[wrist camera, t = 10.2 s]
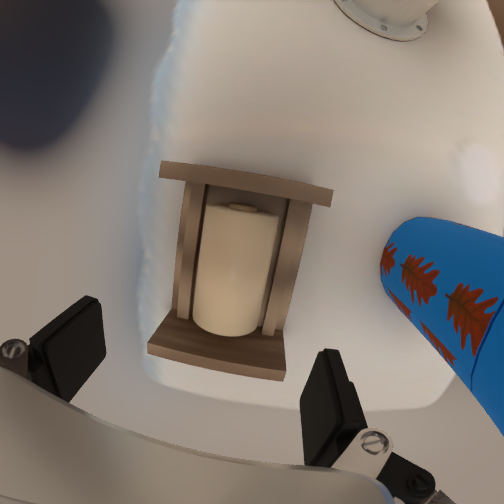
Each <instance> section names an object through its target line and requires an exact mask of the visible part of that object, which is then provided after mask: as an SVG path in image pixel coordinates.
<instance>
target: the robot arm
mask: <svg viewBox="0 0 504 504" xmlns="http://www.w3.org/2000/svg"><path fill="white" fill-rule="evenodd" d="M438 1H439V0H335V2H336V3H337V5H338V6H339V7H340V9H341V10H342V11H343V12H344V13H345V14H346V15H347V16H349V17H350V18H351V19H352V20H354V21H355V22H356V23H358V24H359V25H361V26H362V27H364V28H366V29H368V30H370V31H371V32H373V33H376V34H378V35H380V36H383V37H386V38H390V39H393V40H400V41H410V40H414V39H416V38H418V37H420V36H421V35H422V34H423V33H424V32H425V31H426V29H427V25H428V19H427V14H426V12H427V11H428V10H429V9H430V8H431V7H432V6H433V5H434V4H436V3H437V2H438ZM29 340H30V344H29V345H27V344H26V342H24V341H23V340H20V339H10V340H7V341H6V342H4V343H3V344H2V345H1V346H0V504H456V503H454V502H453V501H452V500H451V499H450V498H449V497H448V496H446V494H445V493H443V492H442V491H441V490H439V491H438V492H437V491H436V490H435V480H434V477H433V476H432V474H431V473H429V472H428V471H426V470H425V469H422V468H421V467H419V466H417V465H415V464H413V463H411V462H409V461H408V460H406V459H404V458H402V457H401V456H399V455H397V454H395V453H394V452H392V450H393V441H392V439H391V437H390V436H389V435H388V434H387V433H386V432H384V431H382V430H380V429H377V428H368V426H367V423H366V420H365V417H364V414H363V410H362V407H361V404H360V401H359V398H358V395H357V392H356V389H355V386H354V384H353V382H351V381H349V379H348V376H347V373H346V370H345V367H344V364H343V361H342V358H341V355H340V352H339V350H335V349H326V348H325V349H324V350H323V352H322V351H319V353H318V355H317V357H316V360H315V363H314V365H313V368H312V370H311V373H310V375H309V378H308V380H307V383H306V385H305V388H304V390H303V392H302V395H301V397H300V414H301V425H302V438H303V450H304V464H305V466H303V465H289V464H277V463H268V462H260V461H252V460H244V459H238V458H232V457H226V456H220V455H216V454H211V453H206V452H201V451H197V450H193V449H189V448H185V447H181V446H178V445H174V444H170V443H167V442H164V441H160V440H157V439H154V438H151V437H148V436H145V435H142V434H139V433H136V432H133V431H131V430H128V429H125V428H123V427H120V426H118V425H115V424H113V423H110V422H108V421H106V420H103V419H101V418H98V417H96V416H94V415H92V414H90V413H88V412H86V411H84V410H81V409H80V408H77V407H75V406H74V405H72V404H70V403H69V402H70V401H71V400H72V398H73V397H74V396H75V394H76V393H77V392H78V391H79V389H80V388H81V387H82V385H83V384H84V383H85V382H86V381H87V379H88V378H89V377H90V376H91V374H92V373H93V372H94V371H95V369H96V368H97V367H98V366H99V364H100V363H101V362H102V361H103V360H104V358H105V356H106V346H105V339H104V329H103V320H102V308H101V304H100V303H99V301H98V299H96V298H93V297H90V296H84V297H83V298H81V299H80V300H78V301H77V302H76V303H74V304H73V305H72V306H70V307H69V308H68V309H66V310H65V311H64V312H63V313H61V314H60V315H59V316H57V317H56V318H55V319H53V320H52V321H51V322H50V323H48V324H47V325H46V326H45V327H43V328H42V329H41V330H40V331H38V332H37V333H36V334H35V335H33V336H32V337H31V338H30V339H29Z"/></svg>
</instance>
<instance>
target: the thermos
mask: <svg viewBox="0 0 504 504" xmlns="http://www.w3.org/2000/svg"><path fill="white" fill-rule="evenodd" d="M380 267H381V281H382V283H383V286H384V288H385V291H386V293H387V294H388V296H389V297H390V298H391V299H392V301H393V302H394V303H395V304H396V306H397V307H398V308H399V309H400V310H401V311H402V313H403V314H404V315H405V316H406V317H407V318H408V319H409V320H410V321H411V322H412V323H413V324H414V325H415V327H416V328H417V329H418V330H419V331H420V332H421V333H422V334H423V335H424V337H425V338H426V339H427V340H428V341H429V342H430V343H431V344H432V346H433V347H434V348H435V349H436V350H437V351H438V352H439V354H440V355H441V356H442V357H443V358H444V359H445V361H446V362H447V363H448V364H449V365H450V367H451V368H452V369H453V370H454V371H455V373H456V374H457V375H458V376H459V377H460V379H461V380H462V381H463V382H464V384H465V385H466V386H467V387H468V389H469V390H470V391H471V392H472V394H473V395H474V396H475V398H476V399H477V400H478V402H479V403H480V404H481V406H482V407H483V408H484V409H485V411H486V412H487V414H488V415H489V416H490V417H491V419H492V420H493V422H494V423H495V425H496V426H497V427H498V429H499V430H500V432H501V433H502V435H503V436H504V237H501V236H498V235H495V234H492V233H488V232H485V231H482V230H479V229H476V228H472V227H469V226H466V225H462V224H459V223H455V222H452V221H447V220H441V219H435V218H426V217H417V218H414V219H412V220H409V221H407V222H404V223H403V224H402V225H401V226H400V227H399V228H398V229H397V230H396V231H395V232H393V234H392V236H391V237H390V239H389V241H388V242H387V244H386V246H385V248H384V252H383V256H382V260H381V263H380Z"/></svg>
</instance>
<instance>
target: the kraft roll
mask: <svg viewBox="0 0 504 504" xmlns="http://www.w3.org/2000/svg"><path fill="white" fill-rule="evenodd" d="M278 221H279V216H278V215H276V214H274V213H271V212H267V211H264V210H260V209H258V207H256V206H253V205H248V204H243V203H235V202H229V204H221V203H208V204H206V210H205V217H204V224H203V231H202V238H201V246H200V254H199V262H198V270H197V278H196V287H195V297H194V306H193V319H194V321H195V323H196V324H197V325H198V326H199V327H201V328H202V329H204V330H206V331H208V332H211V333H214V334H217V335H222V336H242V335H246V334H249V333H251V332H253V331H254V330H255V329H256V327H257V324H258V319H259V314H260V310H261V305H262V300H263V295H264V291H265V286H266V281H267V276H268V271H269V266H270V261H271V257H272V252H273V247H274V241H275V236H276V231H277V226H278Z"/></svg>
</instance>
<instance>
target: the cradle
mask: <svg viewBox="0 0 504 504" xmlns="http://www.w3.org/2000/svg"><path fill="white" fill-rule="evenodd" d="M159 178H167V179H175V180H183V181H186V184H185V190H184V197H183V204H182V211H181V219H180V226H179V235H178V243H177V253H176V262H175V273H174V284H173V297H172V309H171V310H170V312H169V313H168V314H167V316H166V317H165V319H164V320H163V321H162V323H161V324H160V326H159V327H158V328H157V330H156V331H155V333H154V334H153V335H152V337H151V338H150V340H149V341H148V342H147V350H148V354H151V355H155V356H158V357H162V358H166V359H169V360H173V361H177V362H181V363H185V364H189V365H193V366H198V367H202V368H207V369H211V370H216V371H221V372H226V373H231V374H237V375H242V376H248V377H254V378H261V379H267V380H275V381H282V382H283V380H284V377H285V374H286V361H285V350H284V339H283V328H284V324H285V320H286V316H287V312H288V308H289V305H290V301H291V297H292V293H293V289H294V285H295V280H296V276H297V272H298V268H299V264H300V259H301V255H302V251H303V246H304V242H305V237H306V233H307V228H308V223H309V219H310V214H311V209H312V204H318V205H322V206H327V207H330V206H331V201H332V196H333V191H334V190H331V189H327V188H323V187H318V186H314V185H309V184H305V183H300V182H295V181H290V180H285V179H280V178H275V177H270V176H265V175H259V174H254V173H248V172H242V171H236V170H229V169H223V168H216V167H209V166H202V165H194V164H186V163H178V162H169V161H161V165H160V172H159ZM229 202H235V203H243V204H248V205H253V206H256V207H258V209H260V210H264V211H267V212H271V213H274V214H276V215H278V216H279V221H278V226H277V231H276V236H275V241H274V247H273V252H272V257H271V261H270V266H269V271H268V276H267V281H266V286H265V291H264V295H263V300H262V305H261V310H260V314H259V319H258V324H257V327H256V329H255V330H254V331H253V332H251V333H249V334H246V335H242V336H222V335H217V334H214V333H211V332H208V331H206V330H204V329H202V328H201V327H199V326H198V325H197V324H196V323H195V321H194V319H193V306H194V297H195V287H196V278H197V270H198V262H199V254H200V246H201V238H202V231H203V224H204V217H205V210H206V204H208V203H221V204H229Z"/></svg>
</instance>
